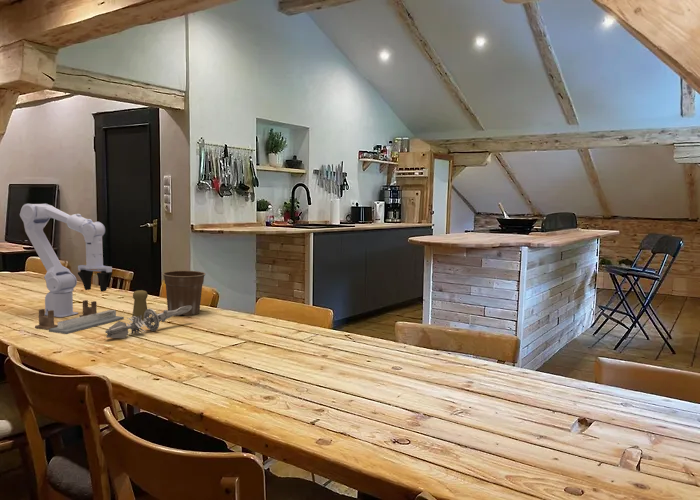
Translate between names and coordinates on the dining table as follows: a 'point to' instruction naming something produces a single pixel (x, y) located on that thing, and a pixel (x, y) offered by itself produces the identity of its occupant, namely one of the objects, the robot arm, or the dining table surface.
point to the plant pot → (184, 290)
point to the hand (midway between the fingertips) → (95, 290)
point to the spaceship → (143, 322)
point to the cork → (139, 303)
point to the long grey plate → (86, 325)
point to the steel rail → (86, 319)
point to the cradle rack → (48, 321)
